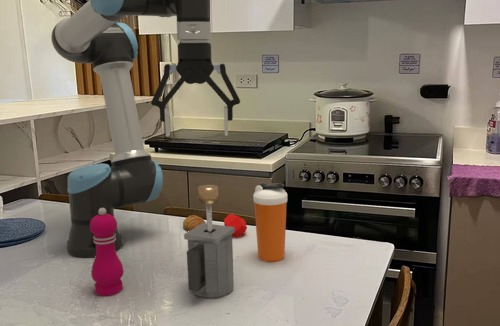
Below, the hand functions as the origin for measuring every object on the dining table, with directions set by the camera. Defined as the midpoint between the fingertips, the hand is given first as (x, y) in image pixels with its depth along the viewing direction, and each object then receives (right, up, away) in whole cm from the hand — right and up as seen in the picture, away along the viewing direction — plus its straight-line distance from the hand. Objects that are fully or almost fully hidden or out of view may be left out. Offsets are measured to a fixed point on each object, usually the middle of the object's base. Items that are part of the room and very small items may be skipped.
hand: (197, 135), depth 123 cm
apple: (+8, -28, +35) cm, 46 cm away
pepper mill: (-21, -36, 0) cm, 42 cm away
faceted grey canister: (+3, -36, -2) cm, 36 cm away
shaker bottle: (+18, -32, +17) cm, 40 cm away
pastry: (-5, -27, +41) cm, 50 cm away
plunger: (+3, -31, -2) cm, 32 cm away
